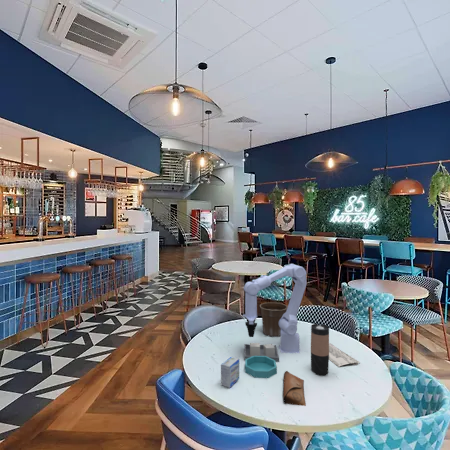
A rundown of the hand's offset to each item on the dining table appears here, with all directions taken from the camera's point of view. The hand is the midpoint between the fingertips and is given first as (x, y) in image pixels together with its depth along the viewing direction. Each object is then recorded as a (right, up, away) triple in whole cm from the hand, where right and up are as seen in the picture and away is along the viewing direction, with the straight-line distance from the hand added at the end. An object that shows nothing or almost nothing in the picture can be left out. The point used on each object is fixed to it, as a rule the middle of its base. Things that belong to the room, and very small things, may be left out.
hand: (251, 333), depth 142 cm
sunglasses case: (+14, -12, -30) cm, 35 cm away
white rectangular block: (+2, -10, -1) cm, 10 cm away
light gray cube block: (+9, -10, -2) cm, 13 cm away
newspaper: (+42, -11, 0) cm, 43 cm away
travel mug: (+29, -11, -16) cm, 35 cm away
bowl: (+3, -11, -15) cm, 19 cm away
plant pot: (+16, -10, +27) cm, 33 cm away
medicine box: (-11, -11, -25) cm, 29 cm away
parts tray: (+5, -10, -2) cm, 11 cm away
